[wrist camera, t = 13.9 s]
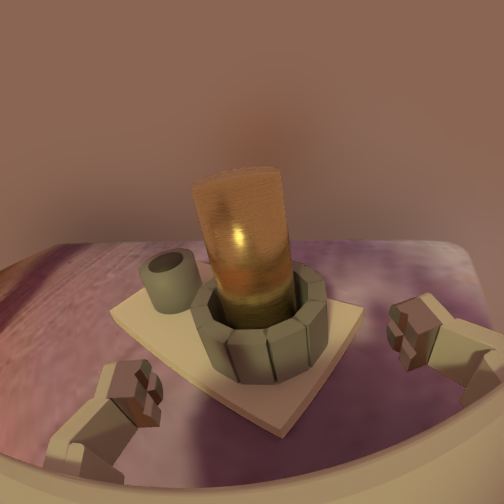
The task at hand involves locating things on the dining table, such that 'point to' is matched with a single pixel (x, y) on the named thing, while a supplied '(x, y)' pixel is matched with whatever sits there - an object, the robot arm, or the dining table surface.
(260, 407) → the fitting plate
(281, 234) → the amber cylinder
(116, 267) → the dining table surface
